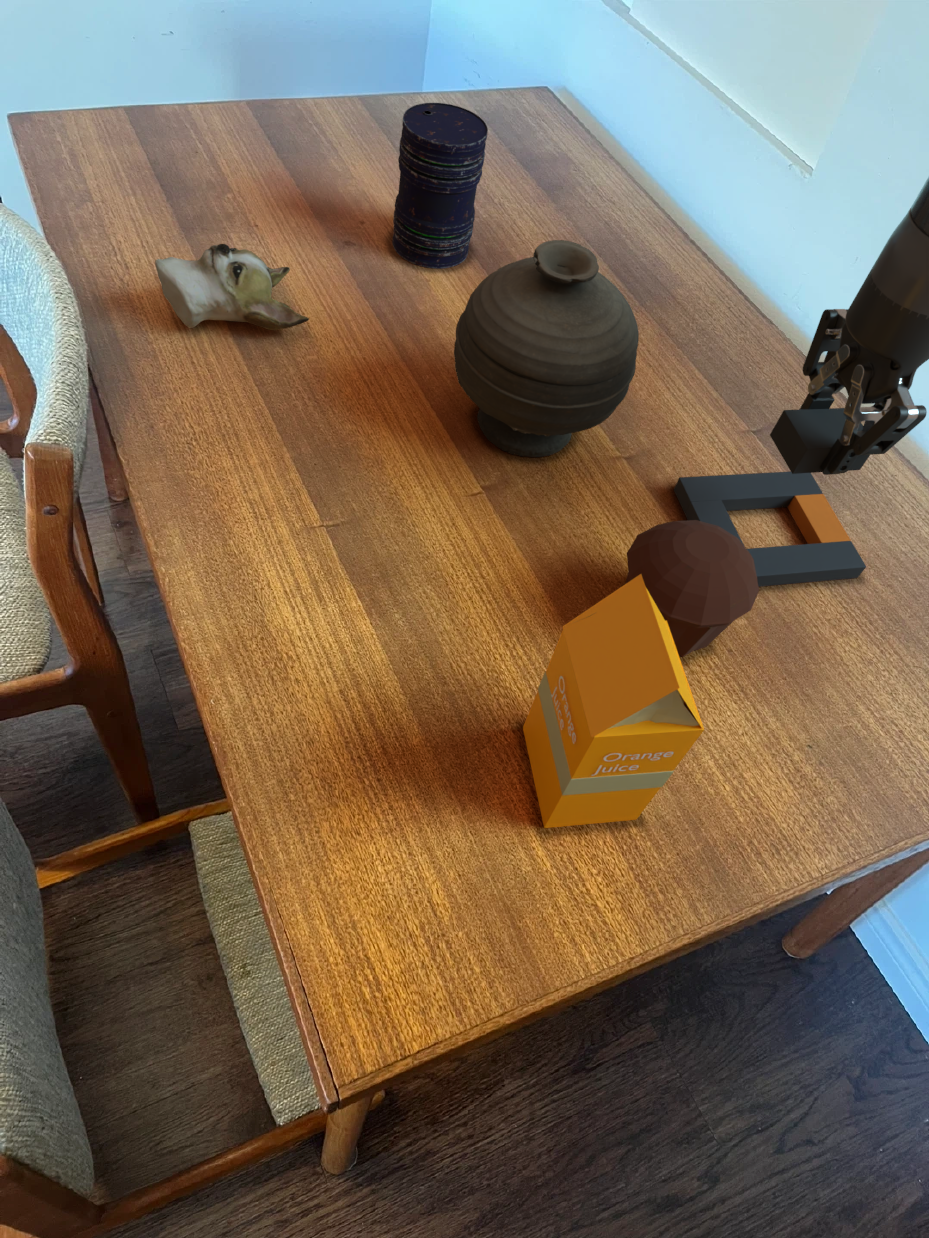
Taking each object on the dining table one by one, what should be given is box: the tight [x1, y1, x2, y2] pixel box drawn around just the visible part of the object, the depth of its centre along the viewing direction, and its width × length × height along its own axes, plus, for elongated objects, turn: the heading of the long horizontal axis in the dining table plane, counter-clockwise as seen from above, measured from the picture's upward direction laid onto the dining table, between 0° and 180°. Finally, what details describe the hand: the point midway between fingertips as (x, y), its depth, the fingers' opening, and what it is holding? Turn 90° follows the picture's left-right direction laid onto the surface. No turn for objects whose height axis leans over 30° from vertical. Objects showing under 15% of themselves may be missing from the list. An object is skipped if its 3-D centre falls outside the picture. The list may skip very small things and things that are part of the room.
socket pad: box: [673, 470, 867, 588], centre depth 88 cm, size 15×13×2 cm
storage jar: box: [391, 102, 489, 270], centre depth 104 cm, size 10×10×15 cm
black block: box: [769, 407, 871, 474], centre depth 79 cm, size 7×5×3 cm
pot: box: [453, 239, 640, 458], centre depth 85 cm, size 18×18×20 cm
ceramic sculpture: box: [154, 243, 310, 331], centre depth 93 cm, size 11×9×15 cm
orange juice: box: [522, 574, 705, 829], centre depth 62 cm, size 8×9×20 cm
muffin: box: [624, 520, 760, 658], centre depth 77 cm, size 12×11×10 cm
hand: (816, 448), depth 80 cm, fingers closed on black block, 5 cm apart
